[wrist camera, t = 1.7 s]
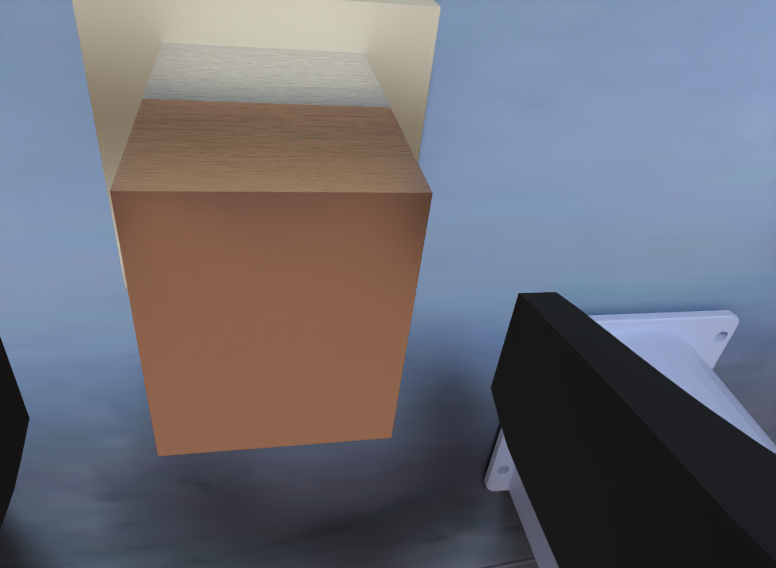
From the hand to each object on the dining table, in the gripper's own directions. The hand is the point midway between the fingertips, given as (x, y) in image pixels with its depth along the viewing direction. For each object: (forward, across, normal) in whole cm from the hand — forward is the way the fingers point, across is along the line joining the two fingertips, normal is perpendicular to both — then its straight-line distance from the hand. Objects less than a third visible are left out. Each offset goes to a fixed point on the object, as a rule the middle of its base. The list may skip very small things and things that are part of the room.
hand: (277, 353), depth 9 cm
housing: (+6, 0, 0) cm, 6 cm away
